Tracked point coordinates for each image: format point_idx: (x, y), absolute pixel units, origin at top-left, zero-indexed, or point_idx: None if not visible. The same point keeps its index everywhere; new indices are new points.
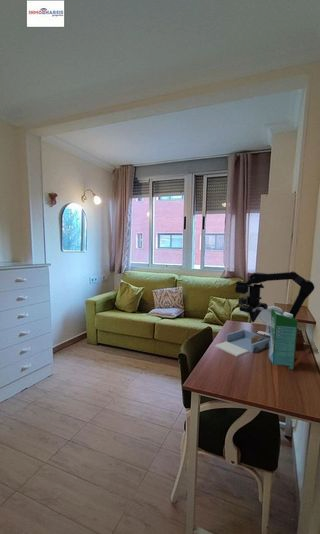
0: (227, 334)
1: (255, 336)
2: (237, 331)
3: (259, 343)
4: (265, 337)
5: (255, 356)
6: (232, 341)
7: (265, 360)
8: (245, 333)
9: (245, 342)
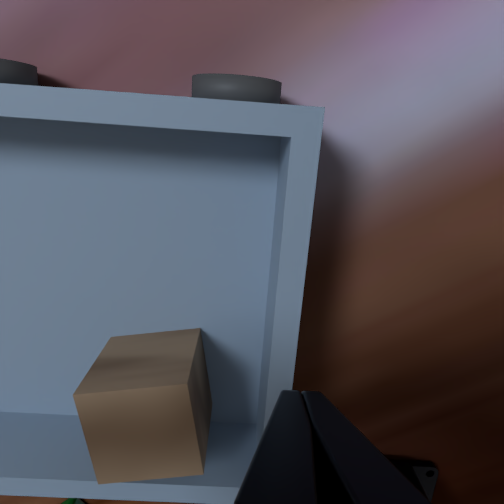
0: None
1: (156, 405)
2: (134, 103)
3: (57, 487)
4: None
5: None
6: (8, 143)
7: (24, 497)
8: (284, 167)
9: (132, 257)
